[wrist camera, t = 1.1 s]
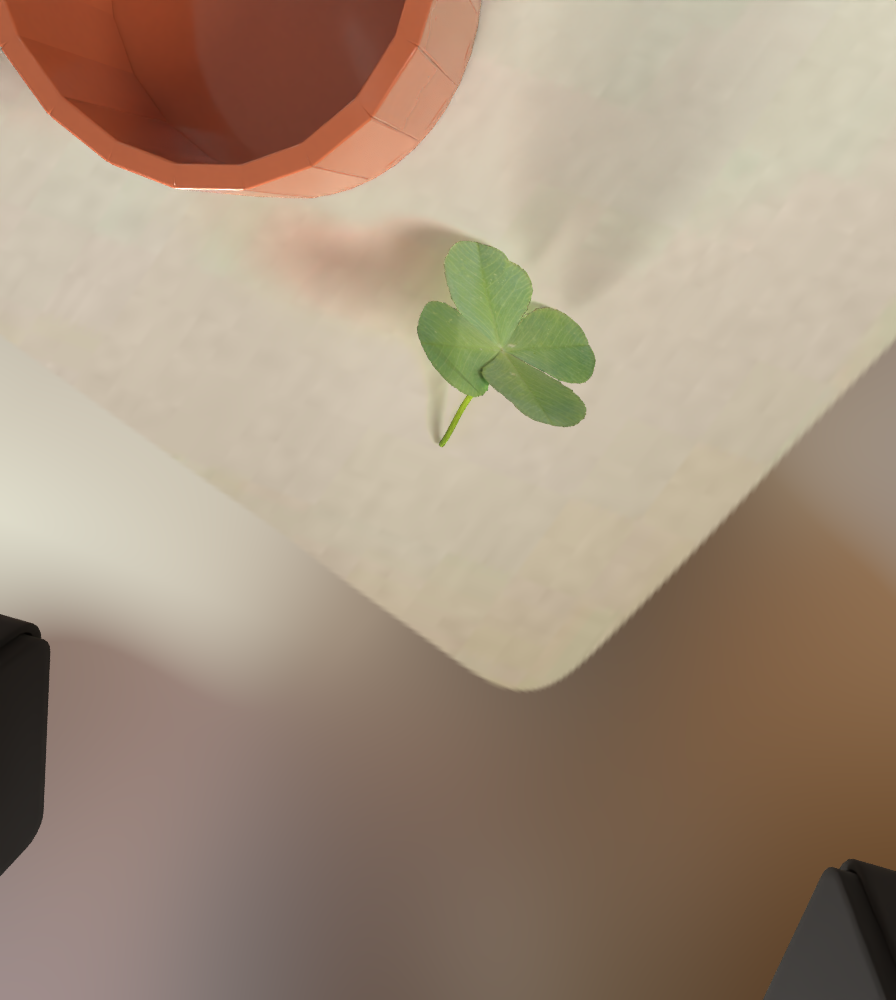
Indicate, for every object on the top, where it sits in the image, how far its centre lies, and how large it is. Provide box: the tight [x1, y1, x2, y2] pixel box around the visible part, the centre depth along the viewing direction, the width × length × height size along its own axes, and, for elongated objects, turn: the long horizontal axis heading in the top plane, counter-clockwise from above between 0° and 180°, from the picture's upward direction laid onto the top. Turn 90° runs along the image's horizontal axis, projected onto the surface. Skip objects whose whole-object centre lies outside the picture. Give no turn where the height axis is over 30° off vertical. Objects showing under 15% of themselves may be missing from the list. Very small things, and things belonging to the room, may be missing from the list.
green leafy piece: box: [417, 241, 595, 447], centre depth 29 cm, size 7×8×7 cm
